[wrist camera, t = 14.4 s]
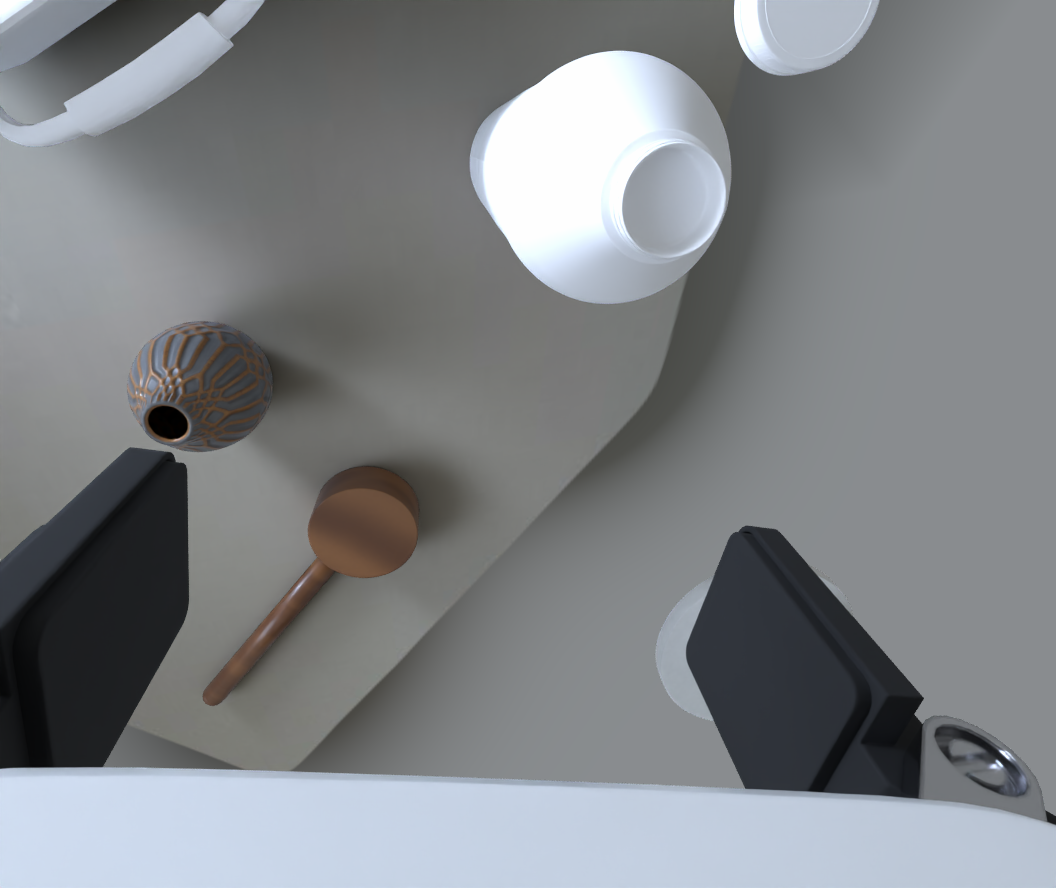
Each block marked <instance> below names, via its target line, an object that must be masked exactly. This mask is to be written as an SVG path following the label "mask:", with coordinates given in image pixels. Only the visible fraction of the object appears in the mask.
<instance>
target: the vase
mask: <svg viewBox="0 0 1056 888" xmlns="http://www.w3.org/2000/svg"><path fill="white" fill-rule="evenodd" d="M127 393H128V400H129V404H130V407H131V410H132V412H133V414H134V416H135V418H136V420H137V421H138V423H139V424H140V425H141V426H142V427H143V429H144V431H145V432H146V434H147V435H148V436H149V437H150V438H152V439H153V440H155V441H156V442H159V443H161V444H164V445H168V446H170V447H173V448H176V449H179V450H184V451H190V452H206V451H214V450H218V449H221V448H225V447H227V446H230V445H232V444H234V443H236V442H238V441H240V440H241V439H243V438H244V437H246V436H247V435H248V434H250V433H251V432H252V431H253V430H254V429H255V428H256V427H257V425H258V424H259V423H260V422H261V420H262V419H263V417H264V415H265V414H266V412H267V410H268V407H269V405H270V402H271V399H272V393H273V377H272V372H271V368H270V365H269V363H268V360H267V358H266V356H265V355H264V353H263V352H262V350H261V349H260V348H259V346H258V345H257V344H256V343H255V342H254V341H253V340H252V339H251V338H249V337H248V336H247V335H245V334H244V333H242V332H241V331H239V330H237V329H235V328H233V327H230V326H227V325H224V324H220V323H215V322H206V321H197V322H188V323H183V324H179V325H176V326H174V327H171V328H169V329H167V330H165V331H163V332H161V333H160V334H158V335H157V336H155V337H154V338H153V339H151V340H150V341H149V342H148V343H147V344H146V345H145V346H144V347H143V348H142V349H141V351H140V352H139V353H138V355H137V356H136V358H135V360H134V362H133V364H132V367H131V370H130V373H129V377H128V384H127Z"/></svg>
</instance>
